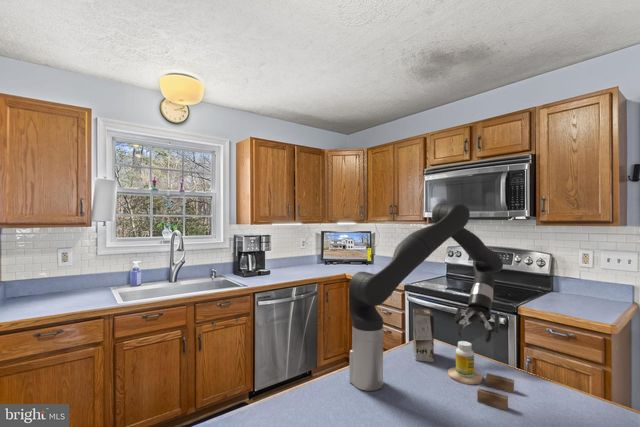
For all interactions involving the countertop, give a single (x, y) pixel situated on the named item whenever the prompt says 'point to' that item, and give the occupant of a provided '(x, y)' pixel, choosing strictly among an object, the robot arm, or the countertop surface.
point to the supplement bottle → (464, 359)
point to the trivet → (474, 379)
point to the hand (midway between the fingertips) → (473, 338)
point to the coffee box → (423, 334)
